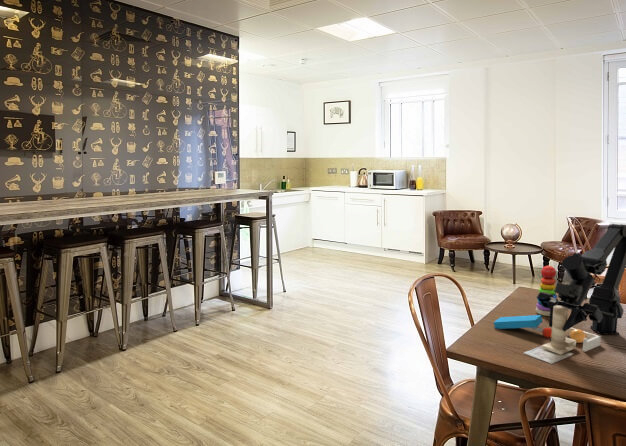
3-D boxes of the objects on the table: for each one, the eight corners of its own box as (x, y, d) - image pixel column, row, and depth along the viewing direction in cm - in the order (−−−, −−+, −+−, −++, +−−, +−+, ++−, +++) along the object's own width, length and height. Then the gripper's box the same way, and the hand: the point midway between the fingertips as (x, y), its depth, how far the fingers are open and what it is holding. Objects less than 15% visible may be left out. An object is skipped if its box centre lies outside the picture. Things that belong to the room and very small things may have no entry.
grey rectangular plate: (545, 345, 156) (545, 344, 156) (573, 354, 148) (573, 353, 148) (523, 353, 149) (523, 352, 149) (551, 364, 142) (551, 363, 142)
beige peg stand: (558, 341, 157) (561, 301, 155) (577, 347, 152) (580, 306, 150) (542, 347, 152) (545, 307, 150) (560, 354, 147) (563, 312, 145)
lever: (497, 341, 171) (551, 340, 159) (493, 322, 171) (546, 319, 159) (504, 336, 176) (557, 334, 164) (500, 317, 176) (552, 314, 164)
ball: (575, 324, 157) (570, 336, 156) (589, 332, 155) (583, 343, 154) (572, 328, 161) (566, 339, 160) (585, 335, 159) (579, 347, 158)
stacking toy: (559, 312, 188) (562, 265, 185) (556, 318, 181) (560, 269, 178) (537, 308, 192) (540, 262, 189) (533, 314, 185) (537, 266, 182)
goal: (567, 335, 164) (568, 323, 164) (600, 345, 156) (601, 333, 155) (552, 340, 159) (553, 329, 159) (585, 351, 150) (586, 339, 150)
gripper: (541, 267, 158) (519, 305, 153) (601, 279, 142) (578, 323, 138) (553, 287, 163) (532, 324, 159) (612, 301, 148) (590, 343, 143)
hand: (556, 328), depth 150 cm, fingers closed on beige peg stand, 4 cm apart
